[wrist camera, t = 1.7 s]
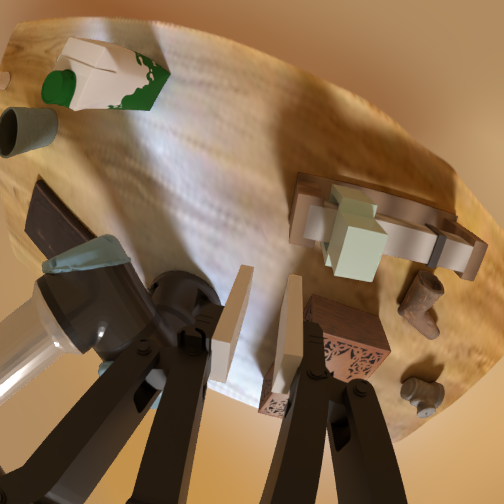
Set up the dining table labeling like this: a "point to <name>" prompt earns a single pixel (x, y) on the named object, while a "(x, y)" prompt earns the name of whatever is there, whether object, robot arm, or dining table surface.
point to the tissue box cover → (336, 347)
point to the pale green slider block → (354, 236)
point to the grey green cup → (26, 129)
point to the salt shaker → (4, 80)
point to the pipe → (422, 303)
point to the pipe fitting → (423, 395)
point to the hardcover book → (53, 223)
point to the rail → (384, 206)
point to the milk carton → (103, 77)
